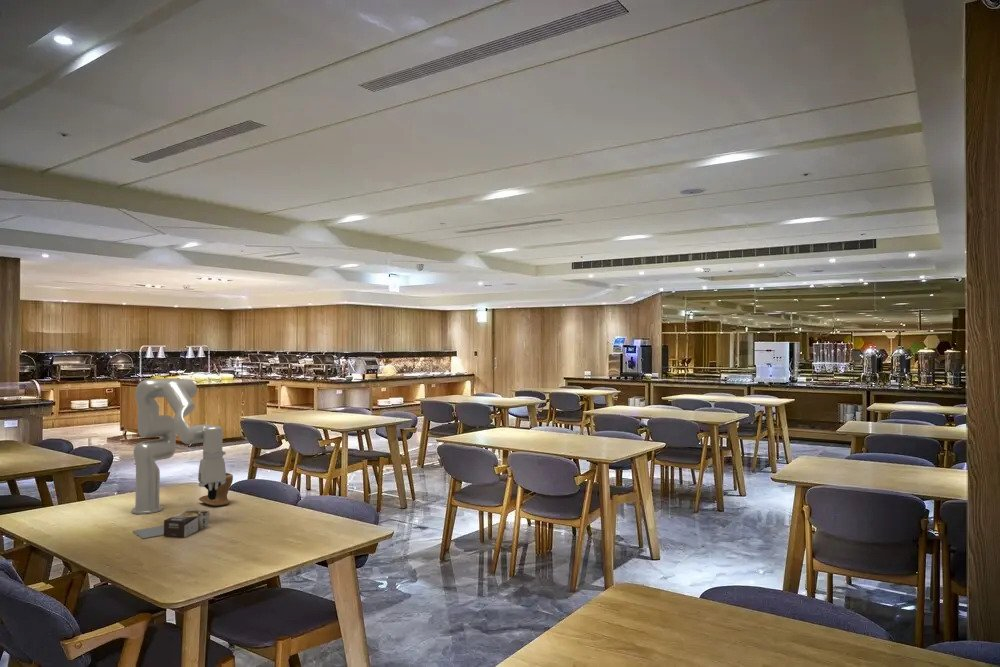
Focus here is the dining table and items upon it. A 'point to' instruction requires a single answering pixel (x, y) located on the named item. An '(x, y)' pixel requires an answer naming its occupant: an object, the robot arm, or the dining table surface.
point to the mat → (150, 532)
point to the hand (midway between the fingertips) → (212, 499)
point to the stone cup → (220, 493)
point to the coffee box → (186, 523)
